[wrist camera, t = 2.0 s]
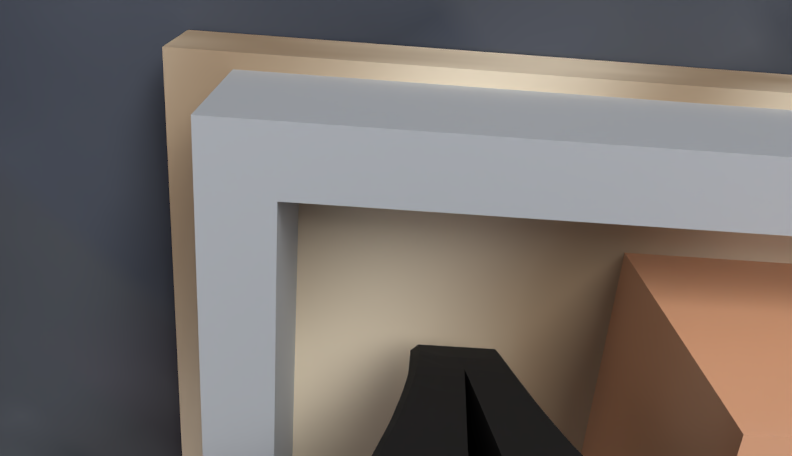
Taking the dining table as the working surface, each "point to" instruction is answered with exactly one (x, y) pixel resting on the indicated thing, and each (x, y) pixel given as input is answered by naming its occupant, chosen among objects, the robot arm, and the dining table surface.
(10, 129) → the dining table surface
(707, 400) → the terracotta block
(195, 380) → the birch deck
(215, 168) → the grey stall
